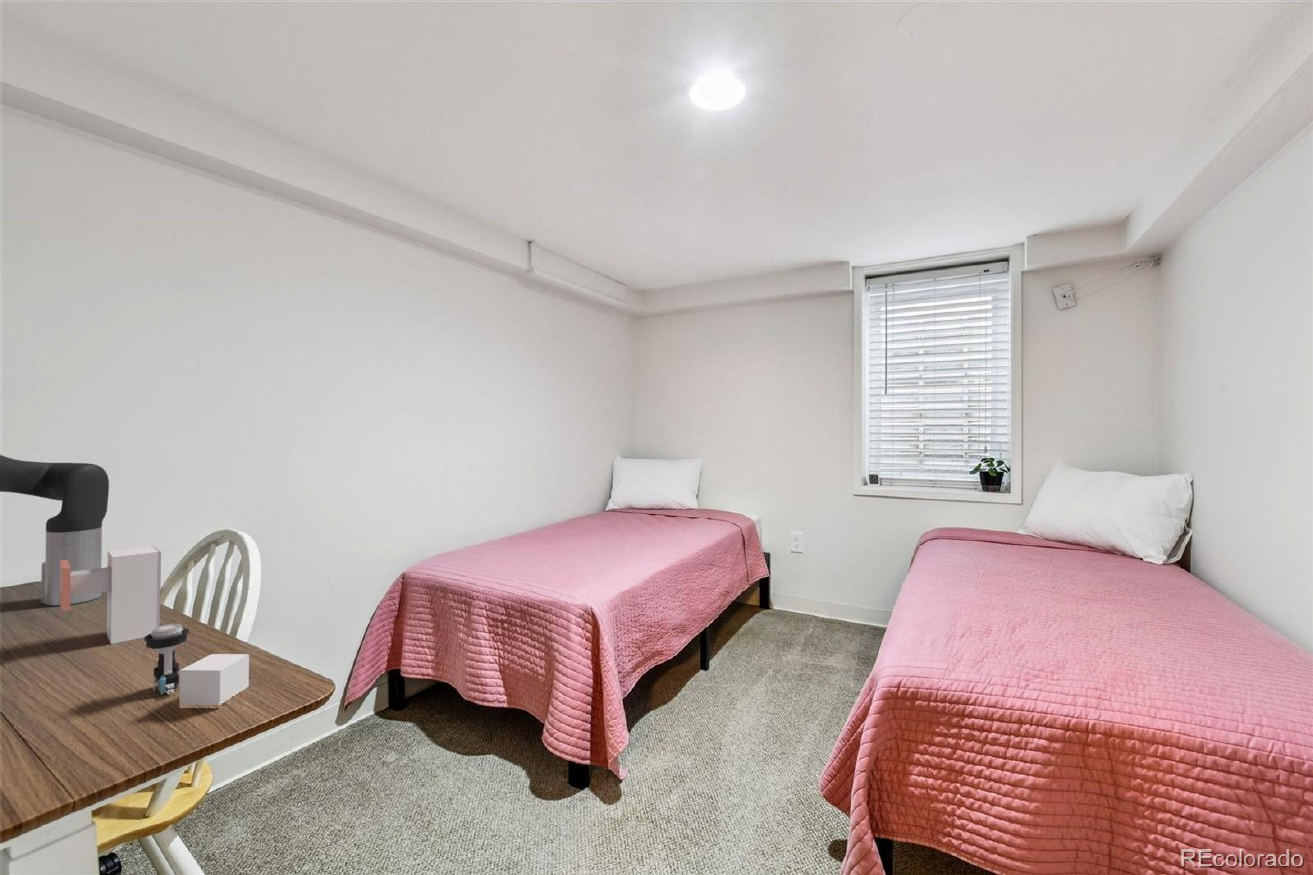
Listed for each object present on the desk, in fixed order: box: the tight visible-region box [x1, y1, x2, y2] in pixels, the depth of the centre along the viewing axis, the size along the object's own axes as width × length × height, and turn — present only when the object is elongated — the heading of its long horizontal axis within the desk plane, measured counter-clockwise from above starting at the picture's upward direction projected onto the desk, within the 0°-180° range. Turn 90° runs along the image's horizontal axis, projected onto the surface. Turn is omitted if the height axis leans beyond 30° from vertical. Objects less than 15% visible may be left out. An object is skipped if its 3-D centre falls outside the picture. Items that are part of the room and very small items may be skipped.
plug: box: [59, 560, 111, 613], centre depth 105 cm, size 8×9×8 cm
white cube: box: [178, 653, 250, 706], centre depth 84 cm, size 6×6×6 cm
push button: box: [143, 623, 190, 695], centre depth 87 cm, size 7×5×10 cm
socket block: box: [106, 545, 162, 645], centre depth 109 cm, size 7×8×17 cm
